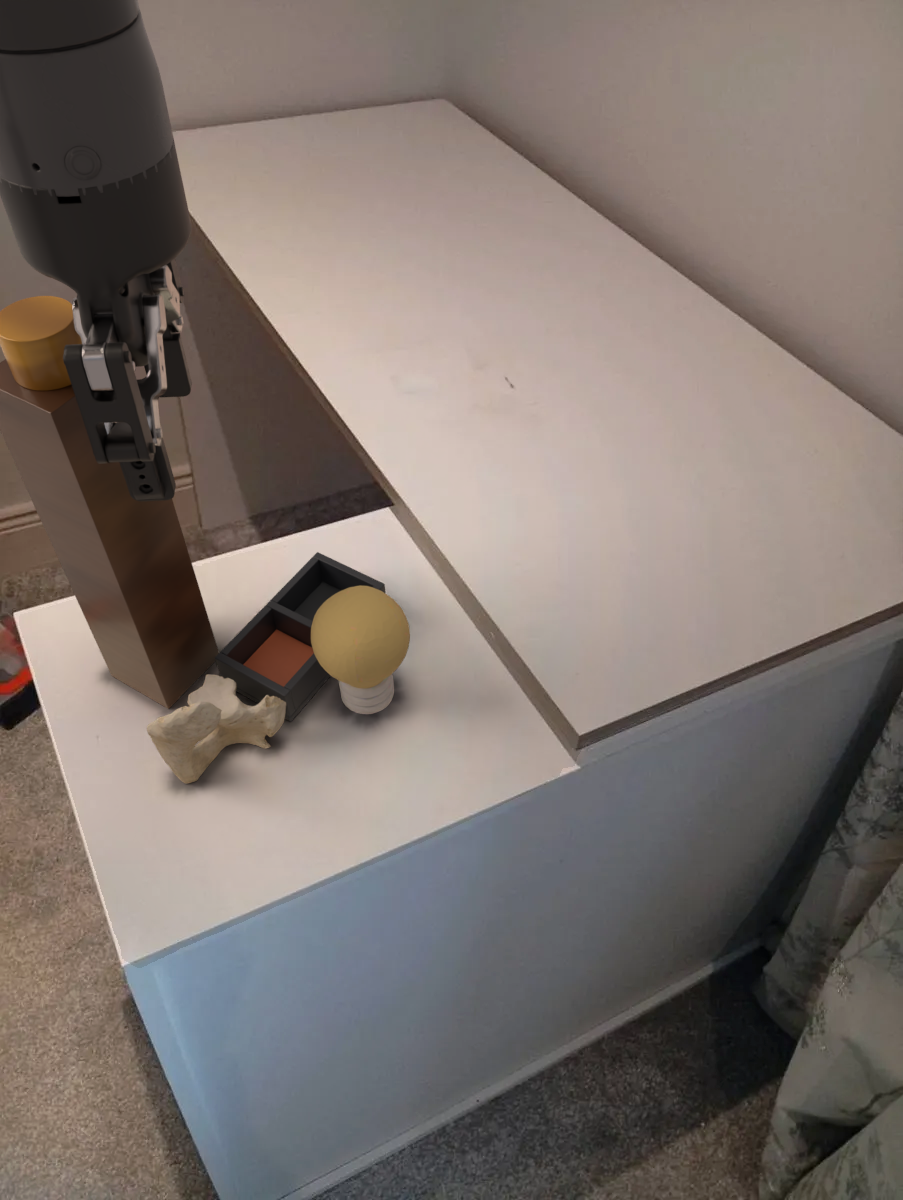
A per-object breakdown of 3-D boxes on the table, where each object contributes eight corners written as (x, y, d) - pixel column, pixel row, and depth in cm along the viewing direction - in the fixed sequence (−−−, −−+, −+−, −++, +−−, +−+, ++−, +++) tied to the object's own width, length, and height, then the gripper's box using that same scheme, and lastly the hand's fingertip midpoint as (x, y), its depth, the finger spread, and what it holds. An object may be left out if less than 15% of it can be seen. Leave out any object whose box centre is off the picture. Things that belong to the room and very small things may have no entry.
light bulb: (360, 751, 66) (347, 662, 58) (304, 693, 69) (285, 601, 62) (431, 700, 69) (428, 608, 61) (375, 646, 72) (365, 552, 64)
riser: (168, 709, 68) (50, 413, 49) (111, 676, 70) (-25, 378, 51) (220, 656, 71) (129, 357, 52) (164, 625, 73) (55, 325, 54)
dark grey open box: (291, 722, 68) (285, 696, 65) (222, 683, 70) (213, 657, 67) (387, 610, 74) (385, 583, 72) (321, 578, 76) (317, 551, 74)
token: (51, 400, 49) (31, 350, 47) (-4, 375, 51) (-25, 325, 48) (108, 359, 52) (92, 309, 49) (54, 336, 53) (36, 287, 51)
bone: (270, 657, 69) (262, 638, 60) (301, 743, 69) (298, 737, 59) (151, 699, 68) (123, 687, 58) (181, 788, 67) (158, 790, 57)
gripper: (23, 72, 45) (113, 366, 57) (-58, 229, 36) (70, 540, 48) (188, 68, 45) (243, 361, 58) (150, 222, 36) (224, 532, 48)
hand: (164, 442), depth 53 cm, fingers open, 8 cm apart
